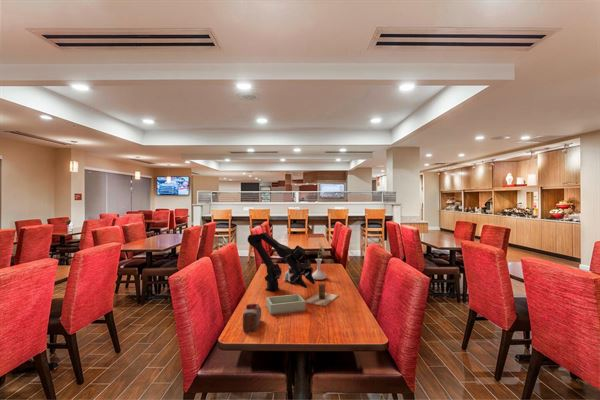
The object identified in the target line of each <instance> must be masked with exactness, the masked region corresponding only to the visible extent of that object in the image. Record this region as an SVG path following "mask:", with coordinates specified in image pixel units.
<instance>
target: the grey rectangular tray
mask: <svg viewBox="0 0 600 400" xmlns="http://www.w3.org/2000/svg"><path fill="white" fill-rule="evenodd" d="M265 299H266V301H265V303H266V304H265V307H266V309H267V311H268V312H269V315H270V316H274V315H275V316H276V315H281V314H282V315H283V314H292V313H299V312H306V303H305V300H306V299H304V298H303V297H302V296H301V295H300V293H297V294H296V293H295V294H287V295H285V294H284V295H275V296H268V297H267V296H266V297H265Z"/></svg>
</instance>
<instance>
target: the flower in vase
mask: <svg viewBox="0 0 600 400" xmlns="http://www.w3.org/2000/svg"><path fill="white" fill-rule="evenodd" d="M318 247H319V250H318V251H317V258H315V259H314V260H315V261H316V267H317V268H316V270H315V271H313V272H312V276H313V279H314V280H318V281H319V280H321V281H322V280H326V279H327V278H328V276H327V274H326V273H325V272H324V271H323V270H322V268H321V263H322V261H323V258H320V257H321V256H322V255H321V254H320V250H321V251H322V252H323V253H325V252H326V251H325V248H324V246H323V245H322V243H320V242H319V243H318Z"/></svg>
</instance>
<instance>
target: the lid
mask: <svg viewBox="0 0 600 400" xmlns="http://www.w3.org/2000/svg"><path fill="white" fill-rule="evenodd" d="M338 297H339V294H334V293H329V292H328V293H327V292H326V284H325V283H320V284H318V292H317V293H316V294H314V295H312V296H311V297H309V298H307V299H304V300H305V304H312V305H314V306H315V305H316V306H321V307H326V306H328V305H329V304H331V302H333V301H335V300H336V299H338Z"/></svg>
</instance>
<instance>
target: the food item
mask: <svg viewBox="0 0 600 400" xmlns="http://www.w3.org/2000/svg"><path fill="white" fill-rule="evenodd" d="M261 318H262V307H261V306H260V305H259V304H258V303H253V302H252V303H247V304H246V306H245V308H244V310H243V314H242V318H241V319H242V330H243V332H246V333H247V332H248V333H249V332H257V331H258V327H259V326H260V321H261Z"/></svg>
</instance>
